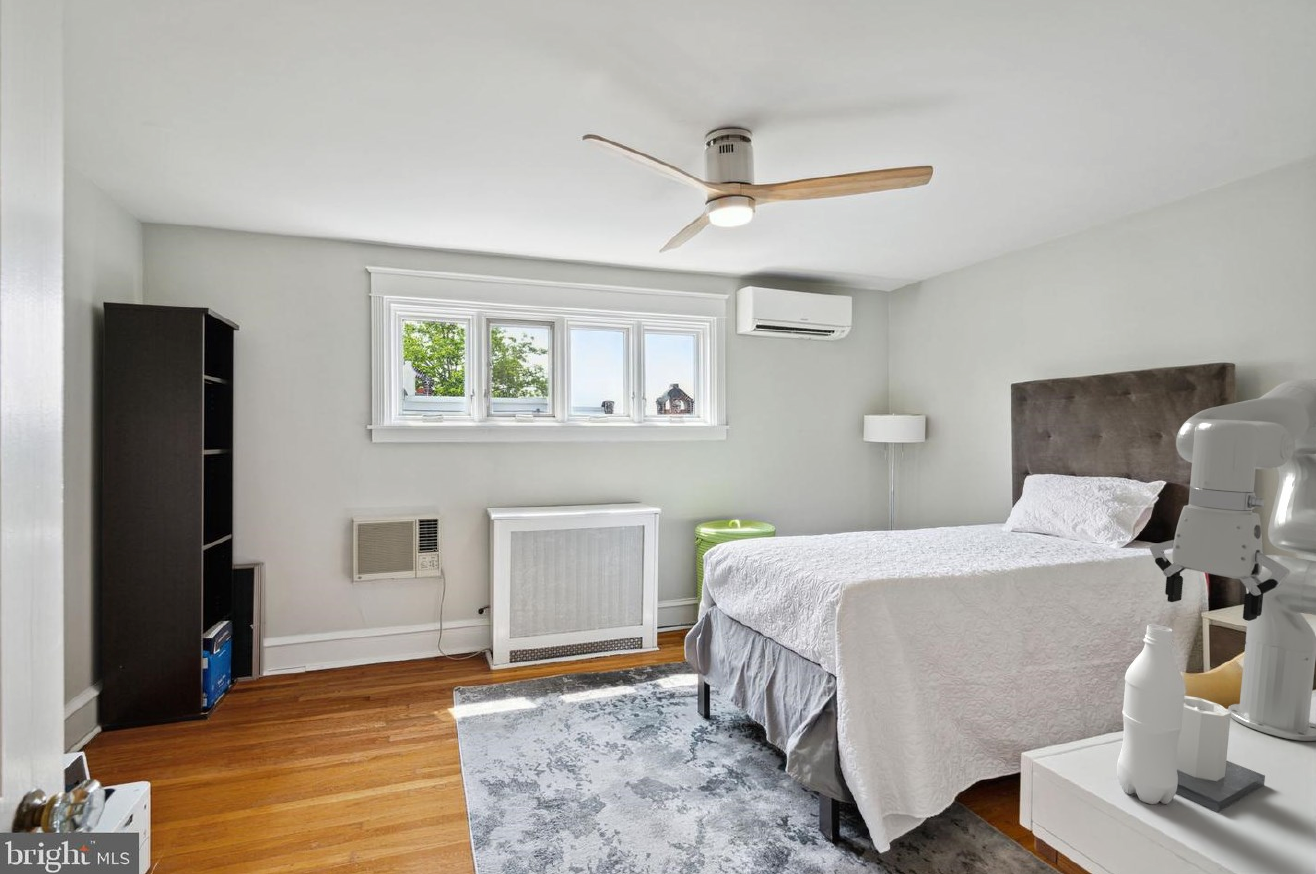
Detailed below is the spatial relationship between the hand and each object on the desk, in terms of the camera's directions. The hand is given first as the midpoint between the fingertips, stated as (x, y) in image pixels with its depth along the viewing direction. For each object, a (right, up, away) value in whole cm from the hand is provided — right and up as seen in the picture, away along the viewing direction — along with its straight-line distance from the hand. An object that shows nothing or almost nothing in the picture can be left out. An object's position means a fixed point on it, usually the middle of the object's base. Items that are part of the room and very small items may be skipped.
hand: (1210, 609), depth 103 cm
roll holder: (-3, -26, 0) cm, 26 cm away
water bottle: (-15, -26, -6) cm, 30 cm away
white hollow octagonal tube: (-3, -25, 0) cm, 25 cm away
